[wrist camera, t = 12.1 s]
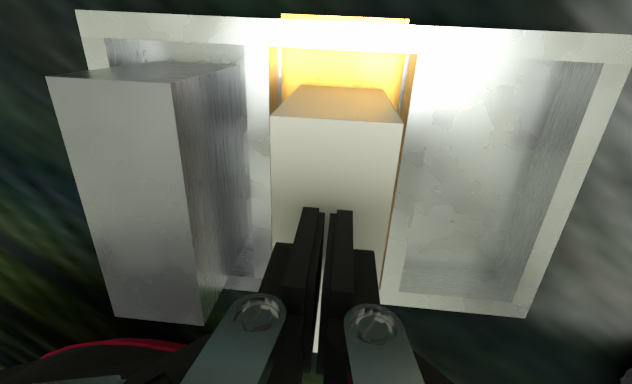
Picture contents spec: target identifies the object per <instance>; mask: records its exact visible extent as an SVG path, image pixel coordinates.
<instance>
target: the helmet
mask: <svg viewBox="0 0 632 384" xmlns="http://www.w3.org/2000/svg"><path fill="white" fill-rule="evenodd" d="M184 346H186V345H185V344H179V343H174V342H168V341H162V340H157V339H144V338H117V339H110V340H102V341H95V342H89V343H82V344H75V345H69V346H67V347H64V348H61V349H59V350H56V351H53V352H50V353H48V354H45V355H44V356H42V357H41V358H40V359H39V360H35V361H32V362H28V363H24V364H21V365H17V366H14V367H10V368H6V369H3V370H0V384H34V383H44V382H54V381H63V380H73V379H83V378H92V377H102V376H112V375H120V376H121V380H122V379H128V378H129V377H130V376H131V375H133V374H134V373H136V372H137V371H139V370H140V369H142V368H144V367H146V366H148V365H150V364H152V363H153V362H155V361H157V360H159V359H161V358H163V357H165V356H167V355H169V354H171V353H173V352H175V351H177V350H179V349H180V348H182V347H184Z"/></svg>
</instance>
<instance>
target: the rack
mask: <svg viewBox="0 0 632 384" xmlns="http://www.w3.org/2000/svg"><path fill="white" fill-rule="evenodd" d="M75 14H76V18H77V22H78V26H79V31H80V35H81V39H82V43H83V48H84V52H85V56H86V60H87V64H88V69H89V70H88V71H80V72H73V73H66V74H58V75H51V76H45V78H46V81H47V85H48V88H49V91H50V95H51V98H52V102H53V105H54V109H55V112H56V116H57V119H58V122H59V126H60V129H61V133H62V136H63V140H64V143H65V146H66V150H67V153H68V157H69V160H70V164H71V167H72V171H73V174H74V177H75V181H76V184H77V188H78V191H79V195H80V198H81V201H82V205H83V208H84V212H85V215H86V219H87V222H88V226H89V229H90V232H91V236H92V239H93V243H94V246H95V250H96V253H97V256H98V260H99V263H100V267H101V270H102V274H103V277H104V281H105V284H106V287H107V291H108V294H109V298H110V301H111V305H112V308H113V311H114V315H115V317H124V318H133V319H142V320H152V321H161V322H171V323H180V324H189V325H199V326H204V325H205V323H206V321H207V319H208V317H209V315H210V313H211V311H212V309H213V307H214V305H215V303H216V301H217V299H218V297H219V295H220V293H221V291H222V289H233V290H243V291H253V292H258V290H259V288H260V285H261V282H262V279H263V276H264V274H265V271H266V268H267V265H268V262H269V260H270V257H271V254H272V251H273V246H272V198H271V150H270V115H271V114H272V113H273V112H274V111H275V110H276V109H277V108H278V107H279V106H280V105H281V104H282V103H283V102H284V101H285V100H286V99H287V98H288V97H289V96H290V95H291V94H292V93H293V92H294V91H295V90H296V89H297V88H298V87H299V86H300V85H316V86H334V87H353V88H372V89H383V90H384V92H385V94H386V95H387V97H388V99H389V100H390V102H391V104H392V105H393V107H394V109H395V110H396V112H397V114H398V115H399V117H400V118H401V120H402V122H403V123H404V126H403V132H402V139H401V146H400V152H399V159H398V165H397V172H396V178H395V185H394V191H393V198H392V204H391V211H390V217H389V224H388V231H387V237H386V244H385V250H384V257H383V263H382V270H381V276H380V283H379V297H380V304H385V305H395V306H405V307H415V308H425V309H436V310H446V311H456V312H466V313H476V314H486V315H496V316H507V317H517V318H526V316H527V313H528V311H529V308H530V306H531V304H532V301H533V299H534V297H535V294H536V292H537V290H538V287H539V285H540V282H541V280H542V278H543V275H544V273H545V271H546V268H547V266H548V263H549V261H550V259H551V256H552V254H553V252H554V249H555V247H556V244H557V242H558V240H559V237H560V235H561V233H562V230H563V228H564V226H565V223H566V221H567V218H568V216H569V214H570V211H571V209H572V207H573V204H574V202H575V199H576V197H577V195H578V192H579V190H580V188H581V185H582V183H583V181H584V178H585V176H586V173H587V171H588V169H589V166H590V164H591V162H592V159H593V157H594V154H595V152H596V150H597V147H598V145H599V143H600V140H601V138H602V136H603V133H604V131H605V128H606V126H607V124H608V121H609V119H610V117H611V114H612V112H613V109H614V107H615V105H616V102H617V100H618V98H619V95H620V93H621V91H622V88H623V86H624V83H625V81H626V79H627V76H628V74H629V72H630V69H631V67H632V35H624V34H601V33H579V32H557V31H535V30H513V29H491V28H468V27H446V26H424V25H409V19H394V18H371V17H349V16H326V15H303V14H281V19H269V18H247V17H224V16H202V15H180V14H158V13H136V12H114V11H91V10H75Z"/></svg>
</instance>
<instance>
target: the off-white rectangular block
mask: <svg viewBox="0 0 632 384" xmlns="http://www.w3.org/2000/svg"><path fill="white" fill-rule="evenodd" d="M403 126H404V123H403V122H402V120H401V118H400V117H399V115H398V114H397V112H396V110H395V109H394V107H393V105H392V104H391V102H390V100H389V99H388V97H387V95H386V94H385V92H384V90H383V89H372V88H353V87H334V86H316V85H300V86H299V87H298V88H297V89H296V90H295V91H294V92H293V93H292V94H291V95H290V96H289V97H288V98H287V99H286V100H285V101H284V102H283V103H282V104H281V105H280V106H279V107H278V108H277V109H276V110H275V111H274V112H273V113H272V114H271V115H270V150H271V198H272V246H273V248H274V246H275V243H276V242H282V243H293V242H294V239H295V235H296V231H297V228H298V224H299V220H300V217H301V213H302V209H303V207H314V208H319V212H324V213H325V225H324V241H323V257H322V273H321V285H320V294H319V302H318V311H317V319H316V328H315V337H314V345H313V352H316V353H318V339H319V324H320V309H321V294H322V283H323V274H324V265H325V256H326V246H327V237H328V228H329V219H330V213H336V214H337V209H339V210H351V211H353V249H361V250H373V251H374V254H375V262H376V271H377V279H378V288H379V283H380V276H381V270H382V263H383V257H384V250H385V244H386V237H387V231H388V224H389V217H390V211H391V204H392V198H393V191H394V185H395V178H396V172H397V165H398V159H399V152H400V146H401V139H402V132H403Z"/></svg>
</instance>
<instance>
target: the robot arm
mask: <svg viewBox="0 0 632 384" xmlns="http://www.w3.org/2000/svg"><path fill="white" fill-rule="evenodd" d="M324 225H325V213H324V212H319V208H314V207H303V209H302V213H301V217H300V220H299V224H298V228H297V231H296V235H295V239H294V242H293V243H282V242H276V243H275V246H274V248H273V251H272V254H271V257H270V260H269V262H268V265H267V268H266V271H265V274H264V276H263V279H262V282H261V285H260V288H259V290H258V293H254V294H249V295H246V296H243V297H241V298H240V299H238V300H237V301H235V302H234V303H233V304H232V306H231V307H230V308H229V310H228V311H227V313H226V314H225V316H224V317H223V319H222V320H221V322H220V323H219V325H218V326H217V328H216V329H215V331H213V332H211V333H209V334H207V335H206V336H204V337H202V338H200V339H198V340H196V341H194V342H192V343H190V344H188V345H186V346H184V347H182V348H180V349H179V350H177V351H175V352H173V353H171V354H169V355H167V356H165V357H163V358H161V359H159V360H157V361H155V362H153V363H152V364H150V365H148V366H146V367H144V368H142V369H140V370H139V371H137V372H136V373H134V374H133V375H131V376H130V377H129V378H128V379H122V380H121V376H120V375H112V376H102V377H92V378H83V379H73V380H63V381H54V382H44V383H34V384H301V383H302V376H303V372H304V373H310V371H311V362H312V354H313V345H314V337H315V328H316V319H317V311H318V302H319V294H320V285H321V273H322V257H323V241H324ZM316 374H322V375H324V382H323V384H454V383H453V382H452V381H450V380H449V379H448V378H447V377H446V376H444V375H443V374H442V373H441V372H439V371H438V370H437V369H436V368H434V367H433V366H432V365H431V364H429V363H428V362H427V361H426V360H425V359H423V358H422V357H421V356H420V355H418V354H417V353H416V352H415V351H413V350H412V348H411V345H410V343H409V340H408V337H407V334H406V332H405V329H404V326H403V324H402V322H401V321H400V319H399V317H397V316H396V315H395V314H394V313H393V312H392V311H390V310H389V309H387V308H385V307H383V306H380V297H379V288H378V279H377V271H376V262H375V254H374V251H373V250H361V249H353V211H351V210H339V209H337V214H336V213H330V219H329V228H328V237H327V246H326V256H325V265H324V274H323V283H322V294H321V309H320V324H319V339H318V355H317V370H316Z"/></svg>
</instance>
